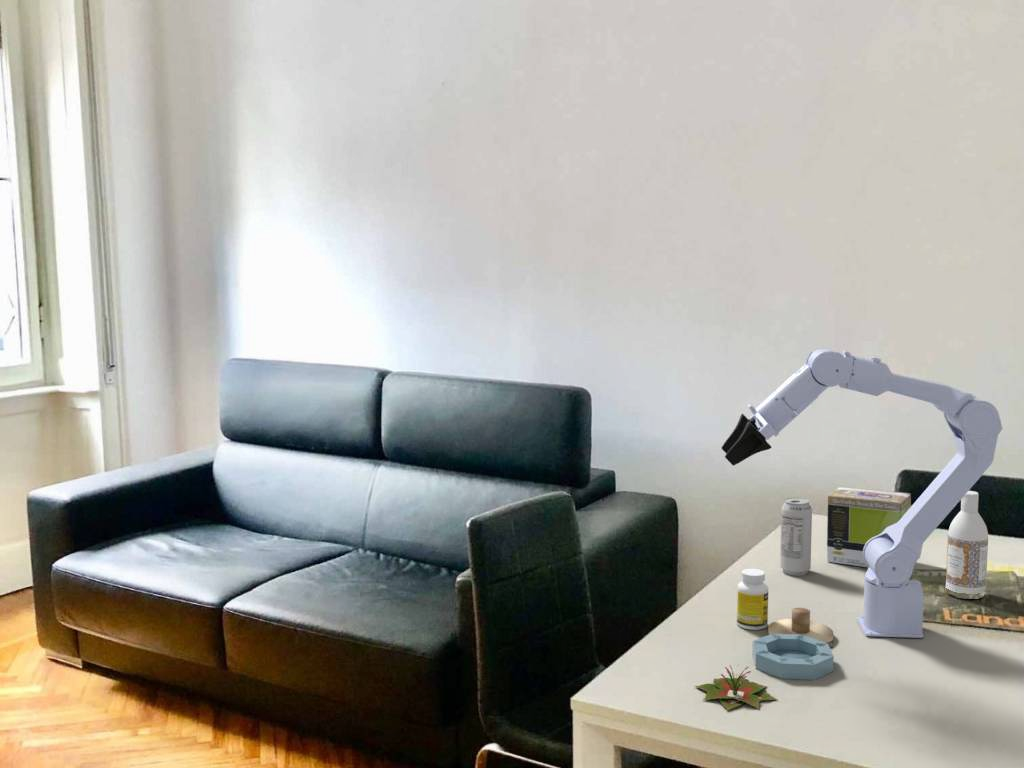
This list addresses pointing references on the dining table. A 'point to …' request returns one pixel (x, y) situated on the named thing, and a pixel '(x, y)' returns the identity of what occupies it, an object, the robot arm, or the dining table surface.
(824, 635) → the lid
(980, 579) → the bath foam
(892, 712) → the dining table surface
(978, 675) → the dining table surface
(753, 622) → the supplement bottle
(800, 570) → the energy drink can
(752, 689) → the lily flower
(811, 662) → the bowl
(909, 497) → the tea box
